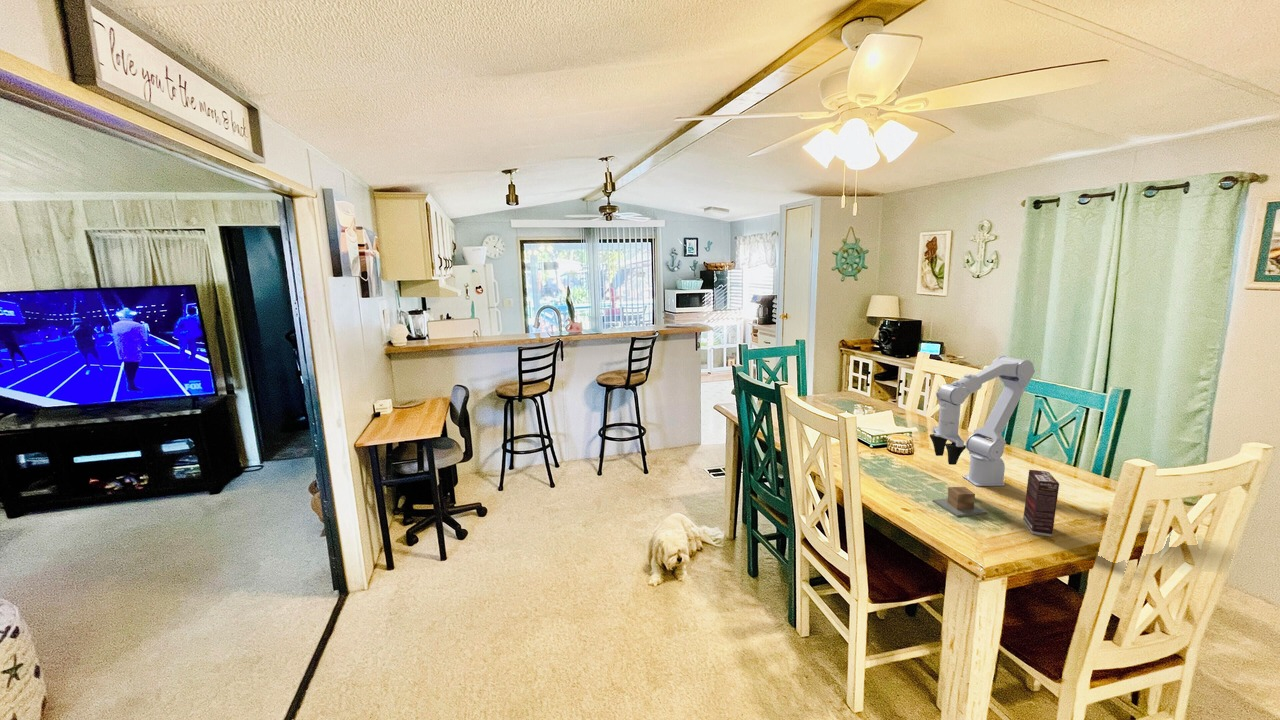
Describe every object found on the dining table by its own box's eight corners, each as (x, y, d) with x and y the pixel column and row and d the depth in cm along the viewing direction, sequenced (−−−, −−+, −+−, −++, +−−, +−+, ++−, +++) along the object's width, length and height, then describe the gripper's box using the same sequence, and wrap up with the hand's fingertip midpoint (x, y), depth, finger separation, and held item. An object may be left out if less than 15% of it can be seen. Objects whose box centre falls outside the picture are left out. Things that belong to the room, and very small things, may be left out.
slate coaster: (961, 498, 159) (961, 496, 159) (986, 513, 149) (987, 511, 149) (932, 501, 157) (933, 499, 157) (957, 516, 148) (957, 514, 148)
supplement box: (1053, 537, 135) (1060, 483, 132) (1031, 534, 137) (1038, 481, 134) (1042, 522, 143) (1049, 471, 140) (1022, 519, 145) (1028, 468, 142)
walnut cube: (963, 501, 155) (964, 486, 154) (973, 509, 150) (975, 494, 150) (947, 501, 156) (948, 487, 155) (956, 509, 151) (958, 494, 150)
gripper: (924, 414, 170) (921, 452, 172) (949, 428, 156) (945, 468, 158) (945, 414, 169) (942, 451, 172) (972, 427, 155) (968, 468, 158)
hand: (945, 459), depth 165 cm, fingers open, 7 cm apart
